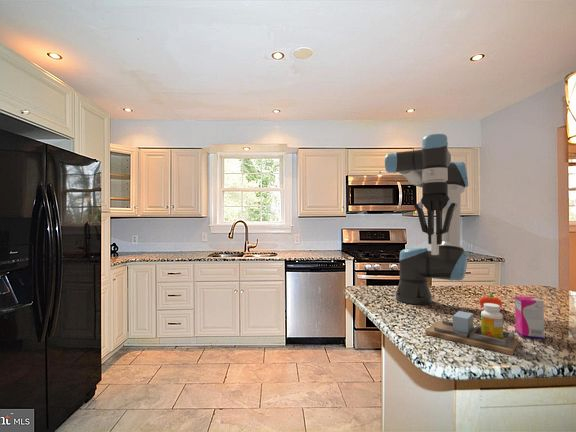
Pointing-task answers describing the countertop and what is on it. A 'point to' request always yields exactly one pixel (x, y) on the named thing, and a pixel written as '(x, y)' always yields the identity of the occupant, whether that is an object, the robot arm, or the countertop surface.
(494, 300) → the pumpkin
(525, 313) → the supplement box
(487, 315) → the supplement bottle
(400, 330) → the countertop surface
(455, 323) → the block
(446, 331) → the brown tray with rails
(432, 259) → the robot arm
